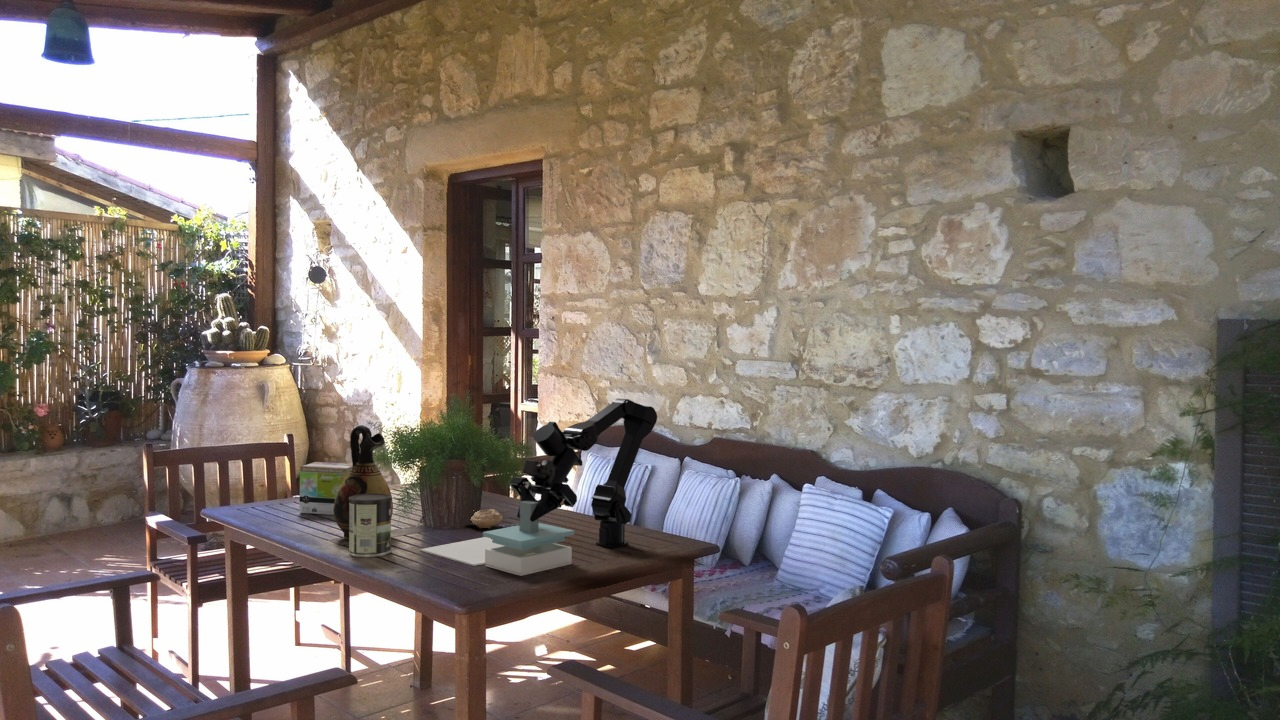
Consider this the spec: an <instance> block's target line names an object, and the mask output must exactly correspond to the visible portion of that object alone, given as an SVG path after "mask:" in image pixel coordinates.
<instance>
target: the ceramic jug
mask: <svg viewBox="0 0 1280 720" xmlns="http://www.w3.org/2000/svg"><path fill="white" fill-rule="evenodd" d="M371 431H372V430H371V428H369V427H368V426H365V425H364V424H360V425H357V426H355V427H354V428H353V429H352V431H351V433H350V436H349V437H350V438H349V439H350V442H349V445H350V446H349V447H350V456H351V462H352V463H351V464H353V467H352V470H351V471H350V473H348V475H347V476H346V478H345V480H344V481H343V483H342V484H341V486H340V488H339V490H338V493H337V495H336V498H335V502H334V508H333V512H334V515H333V518H334V521H335V523H336V525H337V527H339V529H340V530H341V532H343V538H344V540H347V541H349V497H351V496H354V495H360V494H388V495H391V496H392V497H393V495H392V492H391V489H390V486H389V484H388V482H387V481H386V479H385V477H384V476H383V474H382V472H381V470H380V469H379V467H378V465H376V464H377V463H376V462H375V461H374V457H373V456H374V455H373V451H374V450H377V449H378V448H381V447H383V446H384V445H385V438H384V437H383V435H382V434H381V433H379V432H378V433H376V434H373V436H372V432H371ZM360 435H361V437H362V438H361V441H360V440H359V439H360ZM393 512H394V503H393V498H392V499H391V519H392V518H393Z"/></svg>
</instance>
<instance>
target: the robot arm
mask: <svg viewBox="0 0 1280 720" xmlns="http://www.w3.org/2000/svg"><path fill="white" fill-rule="evenodd" d="M621 419H623V428H624V436H623V438H622V440H621V444H620V446H619V449H618V451H617V454H616V455H615V456H616V457H615V459H614V461H613V464H612V467H611V469H610V471H609V475H608V478H607V480H606V482H604V484H597V485H596V486H595V490H594V493H593V495H592V496H591V499H592V500H591V505H590V506H591V509H592V512H593V517H594V521H600V522H599V528H598V531H599V532H598V541H595V545H599V546H603V547H607V548H611V549H612V548H618V547H621V546H626V545H627V546H628V545H629V544H630V542H628V541H625V538H626V537H625V536H626V535H625V534H626V533H625V530H626V529H625V525H626V524H627V525H628V523H630V522H631V519H632V513H631V512H630V510H629V509H628V508H627V507H626V501H627V495H626V490H625V488H626V484H627V482H628V479H629V477H630V474H631V471H632V469H633V466H634V463H635V460H636V457H637V455H638V452H639V450H640V447H641V445H642V442H643V440H644V439H645V438H646V437H647V436H648V435H649V434H651V433H652V431H653V429H654V427H655V425H656V423H657V421H658V413H657V412H656V410H655V408H654V407H653V406H647V405H643V404H640V403H637V402H634V400H631V399H628V398H615V399H613V400H612V402H611V403H609V405H607V406H605V407H604V408H602V410H600V411H598V412H597V413H596V414H594V415H593V416H592V417H590V418H589V419H587V420H585V421H582V422H577V423H575V424H572V425H570V426H567V427H566V428H565V429H564V430H563V431H562V430H561V429H560V428H559V425H558V423H557V422H556V421H548V423H547V424H544V425H543V426H541V427H539V428H538V429H536V430H535V432H534V433H533V437H532V438H533V440H534V442H535V443H536V444H537V446H538V447H539V448H540V449H541V450H542V452H543V453H544V454H545V456H547V457H551V458H550V459H547V460H546V459H544V460H542V461H538V460H537V461H536V460H532V459H525V461H524V464H523V467H522V471H521V473H523V474H526V475H529V476H530V480H531V481H532V482H534V484H532V482H530V480H529V479H528V478H527V477H524V476H522V477H521V476H513V477H512V479H511V480H510V482H509V485H510V487H511V488H512V489H513V490H514V491H515V493H516V494H517V495H518V496H519V497H520V502H521V501H527V500H528V501H533V502H538V504H537V506H536V508H535V510H534V511H533V513H532V515H531V517H530V520H531V521H532V522H533V521H535V520H537V519H538V518H539V519H540V518H542V517H543V516H545V515H547V514H549V513H550V512H552V511H554V510H556V509H558V508H559V509H560V508H562V504H561V503H562V502H563V505H564V506H565V507H570V508H574V506H576V503H577V502H578V496H577V494H576V492H574V490H573V489H572V488H571V487H570V485H569V484H567V483H568V482H569V478H568V475H569V473H570V472H571V471H572V469H573V468H574V467H575V466H578V467H579V466H580V467H582V466H583V460H582V454H577V452H576V451H581V452H587V451H589V450H591V449H592V447H593V446H594V445H595V444H596V443H597V442H598V439H599V436H601V434H602V433H603V432H605V431H606V430H607V429H608V428H610V427H612V426H613V425H614V424H616V423H618V422H619V421H620V420H621ZM536 494H537V495H540V499H539V501H538V500H537V498H536ZM516 518H517V519H518V520H520V505H519V507H518V512H517V515H516Z"/></svg>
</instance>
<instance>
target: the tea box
mask: <svg viewBox="0 0 1280 720" xmlns="http://www.w3.org/2000/svg"><path fill="white" fill-rule="evenodd" d="M352 467H353V463H344V462H343V463H342V462H321V461H314V462H311V463H308V464H304V465H300V466H299V499H298V500H299V506H298V507H299V510H298V511H299V514H313V515H314V514H315V515H327V516H328V515H329V516H334V512H333V508H334V502H335V498H336V495H337V493H338V490H339V488H340V486H341V484H342V483H343V481H344V480H345V478H346V476H347V475H348V473H350V471H351V470H352Z"/></svg>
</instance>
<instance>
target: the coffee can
mask: <svg viewBox="0 0 1280 720" xmlns="http://www.w3.org/2000/svg"><path fill="white" fill-rule="evenodd" d="M391 495H392V494H391ZM391 495H388V494H360V495H354V496H351V497H349V540H348V546H349V548H348V555H349V556H352V557H355V558H376V557H382V556H386V555H389V554H391V553H392V518H391V499H392V500H393V495H392V496H391Z"/></svg>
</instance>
